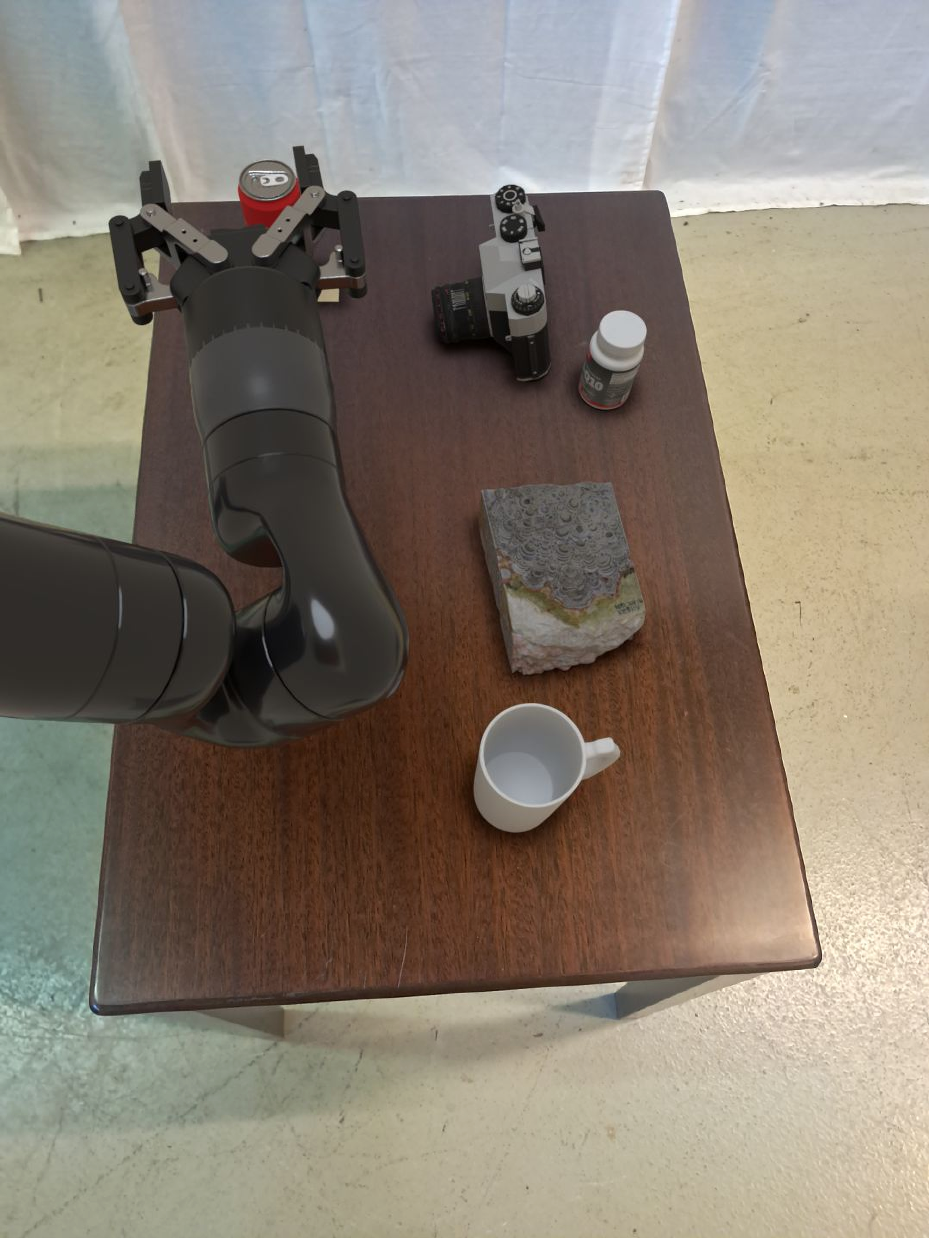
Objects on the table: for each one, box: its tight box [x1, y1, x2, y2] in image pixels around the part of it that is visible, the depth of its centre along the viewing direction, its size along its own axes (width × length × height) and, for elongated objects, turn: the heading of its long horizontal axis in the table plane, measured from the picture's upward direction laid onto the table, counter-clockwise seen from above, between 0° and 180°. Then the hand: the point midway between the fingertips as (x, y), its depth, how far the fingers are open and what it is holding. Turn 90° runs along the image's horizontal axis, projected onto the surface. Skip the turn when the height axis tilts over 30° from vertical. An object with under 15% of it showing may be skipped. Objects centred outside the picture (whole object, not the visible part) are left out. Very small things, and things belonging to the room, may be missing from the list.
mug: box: [473, 702, 621, 833], centre depth 61 cm, size 10×7×12 cm, turn 100°
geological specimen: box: [478, 480, 646, 676], centre depth 70 cm, size 11×6×15 cm
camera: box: [430, 184, 552, 382], centre depth 79 cm, size 15×11×10 cm
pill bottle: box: [578, 310, 648, 410], centre depth 77 cm, size 5×5×8 cm
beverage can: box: [237, 158, 301, 228], centre depth 78 cm, size 5×5×12 cm
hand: (229, 165), depth 53 cm, fingers open, 8 cm apart
